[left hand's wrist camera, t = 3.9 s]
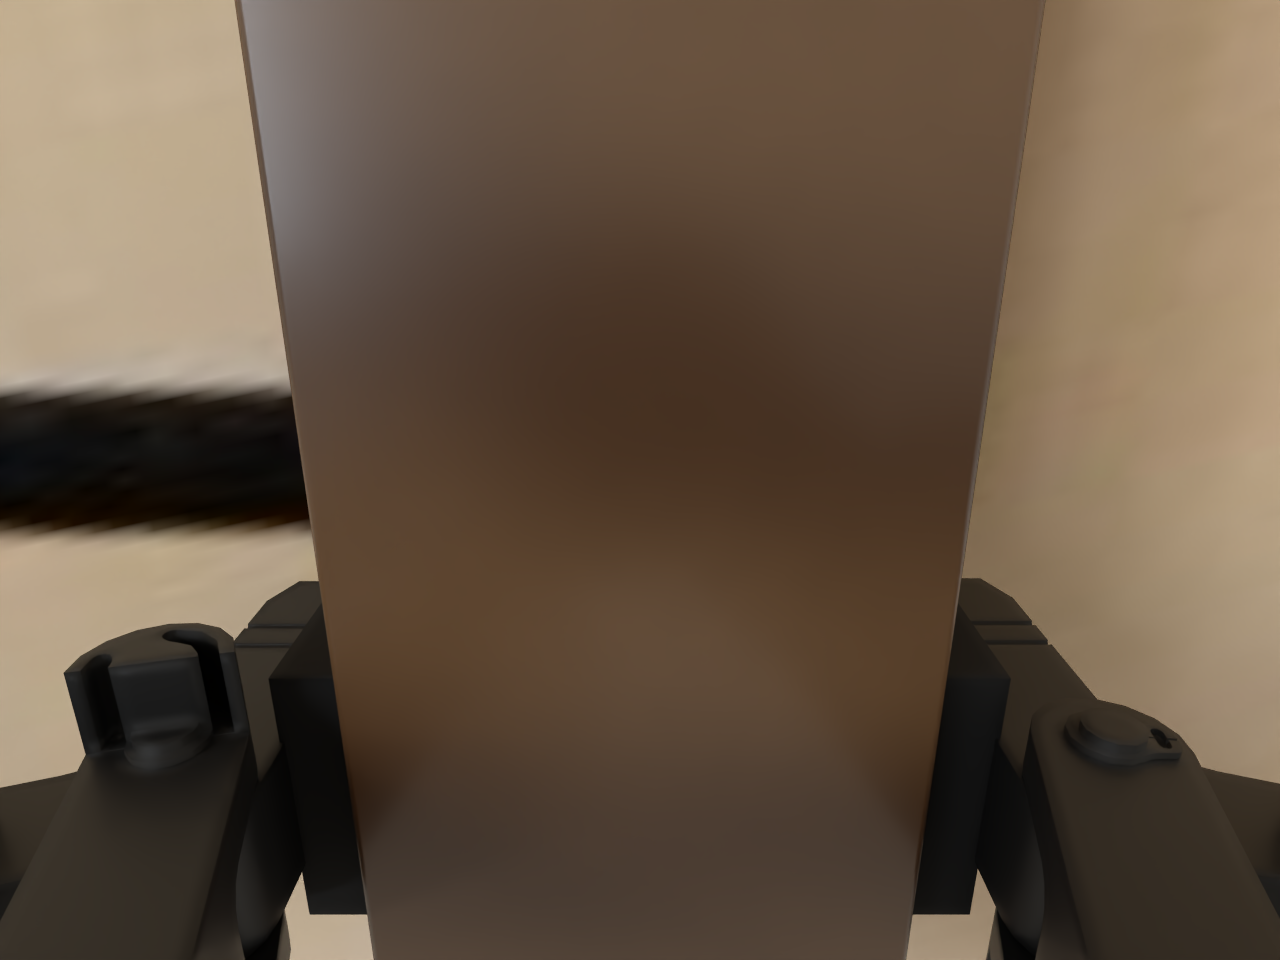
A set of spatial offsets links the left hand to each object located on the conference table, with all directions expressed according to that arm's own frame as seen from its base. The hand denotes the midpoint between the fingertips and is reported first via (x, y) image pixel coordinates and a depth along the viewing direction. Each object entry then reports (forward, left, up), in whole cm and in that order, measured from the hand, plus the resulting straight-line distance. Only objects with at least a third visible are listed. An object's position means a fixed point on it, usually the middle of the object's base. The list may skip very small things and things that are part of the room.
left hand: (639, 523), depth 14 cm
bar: (+17, +12, -1) cm, 21 cm away
